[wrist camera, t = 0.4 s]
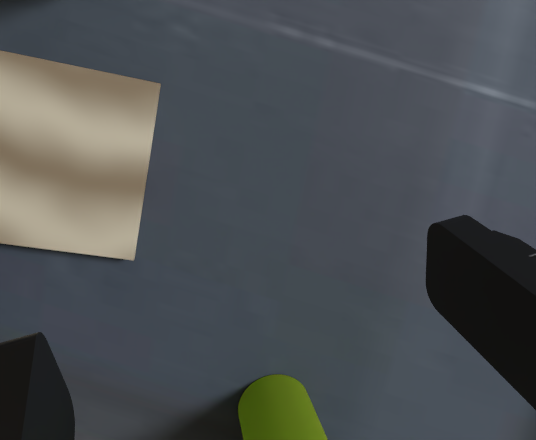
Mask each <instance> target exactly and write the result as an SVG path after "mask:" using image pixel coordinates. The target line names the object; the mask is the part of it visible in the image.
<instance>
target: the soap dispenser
mask: <svg viewBox="0 0 536 440" xmlns="http://www.w3.org/2000/svg"><path fill="white" fill-rule="evenodd" d="M238 415H239V420H240V425H241V430H242V435H243V440H328V439H327V437H326V435H325V433H324V430H323V428H322V426H321V424H320V421H319V419H318V417H317V414H316V412H315V410H314V408H313V405H312V403H311V401H310V398H309V396H308V394H307V392H306V390H305V388H304V386H303V385H302V384H301V383H300V382H299V381H297V380H296V379H294V378H292V377H290V376H287V375H279V374H276V375H269V376H265V377H262V378H260V379H258V380H256V381H255V382H253V383H252V384H251V385H250V386H249V387H248V388H247V389H246V390H245V391H244V393H243V394H242V396H241V398H240V401H239V405H238Z"/></svg>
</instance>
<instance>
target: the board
mask: <svg viewBox="0 0 536 440" xmlns="http://www.w3.org/2000/svg"><path fill="white" fill-rule="evenodd" d="M160 86H161V84H160V83H155V82H151V81H146V80H141V79H136V78H131V77H126V76H122V75H117V74H112V73H107V72H102V71H97V70H93V69H88V68H83V67H78V66H73V65H68V64H64V63H59V62H54V61H49V60H44V59H39V58H35V57H30V56H25V55H20V54H15V53H11V52H6V51H1V50H0V243H1V244H9V245H17V246H25V247H33V248H40V249H48V250H56V251H64V252H72V253H80V254H87V255H95V256H103V257H111V258H119V259H127V260H134V258H135V252H136V245H137V239H138V232H139V225H140V219H141V212H142V206H143V199H144V192H145V186H146V179H147V172H148V166H149V159H150V153H151V146H152V139H153V133H154V126H155V119H156V113H157V106H158V100H159V93H160Z"/></svg>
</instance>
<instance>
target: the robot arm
mask: <svg viewBox="0 0 536 440" xmlns="http://www.w3.org/2000/svg"><path fill="white" fill-rule="evenodd" d="M426 289H427V293H428V296H429V298H430V301H431V303H432V304H433V306H434V307H435V309H436V310H437V311H438V312H439V313H440V314H441V315H442V316H443V317H444V318H445V319H446V320H447V321H448V322H449V323H450V324H451V325H452V326H453V327H454V328H455V329H456V330H457V331H458V332H459V333H460V334H461V335H462V336H463V337H464V338H465V339H466V340H467V341H468V342H469V343H470V344H471V345H472V346H473V347H474V348H475V349H476V350H477V351H478V352H479V353H480V354H481V355H482V356H483V357H484V358H485V359H486V360H487V361H488V362H489V363H490V364H491V365H492V366H493V367H494V368H495V369H496V370H497V371H498V372H499V373H500V375H501V376H502V377H503V378H504V379H505V380H506V381H507V382H508V383H509V384H510V385H511V386H512V387H513V388H514V389H515V390H516V391H517V392H518V393H519V394H520V395H521V396H522V397H523V398H524V399H525V400H526V401H527V402H528V403H529V404H530V405H531V406H532V407H533V408H534V409H535V410H536V250H535V249H534V248H532V247H531V246H529V245H528V244H526V243H525V242H523V241H521V240H520V239H517V238H515V237H512V236H509V235H506V234H503V233H500V232H497V231H491V230H489V229H488V228H486V227H485V226H483V225H482V224H480V223H479V222H478V221H476V220H475V219H473V218H472V217H470V216H467V215H462V216H459V217H455V218H451V219H448V220H444V221H441V222H437V223H434V224H432V225H431V226H430V227H429V229H428V235H427V262H426ZM74 435H75V417H74V410H73V404H72V400H71V396H70V393H69V391H68V388H67V386H66V383H65V381H64V379H63V376H62V374H61V372H60V370H59V367H58V365H57V363H56V360H55V358H54V356H53V353H52V351H51V349H50V346H49V344H48V342H47V340H46V338H45V336H44V335H43V334H42V333H41V332H38V333H34V334H31V335H27V336H24V337H20V338H16V339H13V340H9V341H6V342H2V343H0V440H74Z"/></svg>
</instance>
